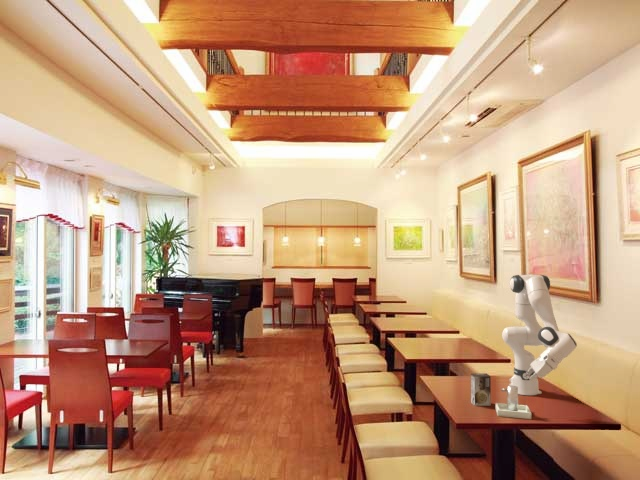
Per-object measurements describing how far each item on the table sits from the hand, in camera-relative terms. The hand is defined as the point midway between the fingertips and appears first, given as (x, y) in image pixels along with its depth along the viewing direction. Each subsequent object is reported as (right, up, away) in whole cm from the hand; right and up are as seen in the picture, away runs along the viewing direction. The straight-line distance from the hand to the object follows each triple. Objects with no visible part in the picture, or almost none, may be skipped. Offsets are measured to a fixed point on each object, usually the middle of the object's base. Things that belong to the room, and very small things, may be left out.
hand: (528, 377), depth 260 cm
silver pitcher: (-9, -18, +2) cm, 21 cm away
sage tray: (-7, -19, +1) cm, 21 cm away
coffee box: (-19, -20, +17) cm, 32 cm away
